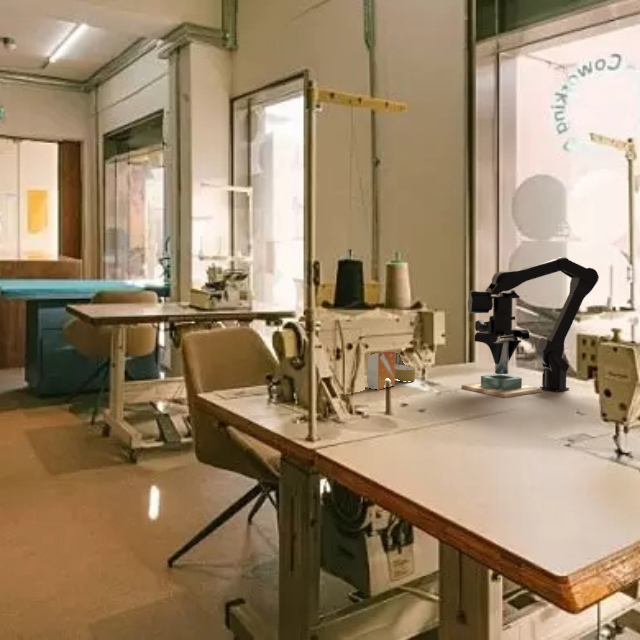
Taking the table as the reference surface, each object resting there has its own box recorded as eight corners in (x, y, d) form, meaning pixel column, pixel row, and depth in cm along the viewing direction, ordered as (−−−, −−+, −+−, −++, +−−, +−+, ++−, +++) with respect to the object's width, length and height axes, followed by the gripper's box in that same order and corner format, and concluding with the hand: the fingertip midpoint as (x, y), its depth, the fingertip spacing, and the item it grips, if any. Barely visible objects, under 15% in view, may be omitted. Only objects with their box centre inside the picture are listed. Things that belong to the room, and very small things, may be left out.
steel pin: (511, 373, 229) (511, 340, 228) (502, 374, 227) (502, 342, 226) (501, 371, 233) (501, 339, 232) (492, 372, 230) (492, 340, 229)
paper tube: (414, 379, 249) (415, 304, 247) (415, 382, 243) (416, 306, 240) (394, 378, 250) (394, 304, 248) (394, 382, 243) (394, 306, 241)
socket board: (541, 391, 227) (541, 378, 227) (505, 397, 218) (505, 384, 218) (496, 382, 242) (497, 370, 242) (461, 388, 233) (461, 375, 233)
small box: (378, 390, 230) (378, 348, 229) (363, 387, 235) (363, 346, 234) (395, 387, 236) (395, 346, 235) (380, 384, 240) (380, 344, 239)
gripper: (503, 309, 240) (502, 357, 241) (461, 312, 229) (461, 363, 231) (531, 311, 231) (530, 361, 232) (488, 315, 220) (488, 367, 222)
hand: (501, 363), depth 230 cm, fingers closed on steel pin, 4 cm apart
